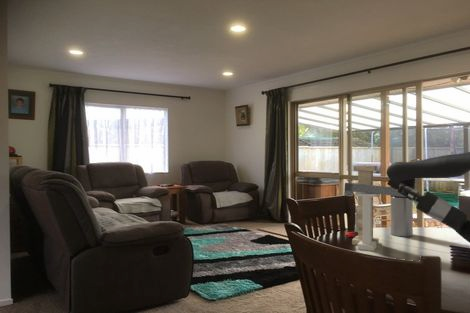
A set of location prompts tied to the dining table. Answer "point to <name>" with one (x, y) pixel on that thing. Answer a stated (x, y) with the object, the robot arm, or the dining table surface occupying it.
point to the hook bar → (370, 189)
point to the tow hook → (355, 233)
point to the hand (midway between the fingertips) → (389, 181)
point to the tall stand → (363, 178)
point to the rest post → (366, 222)
